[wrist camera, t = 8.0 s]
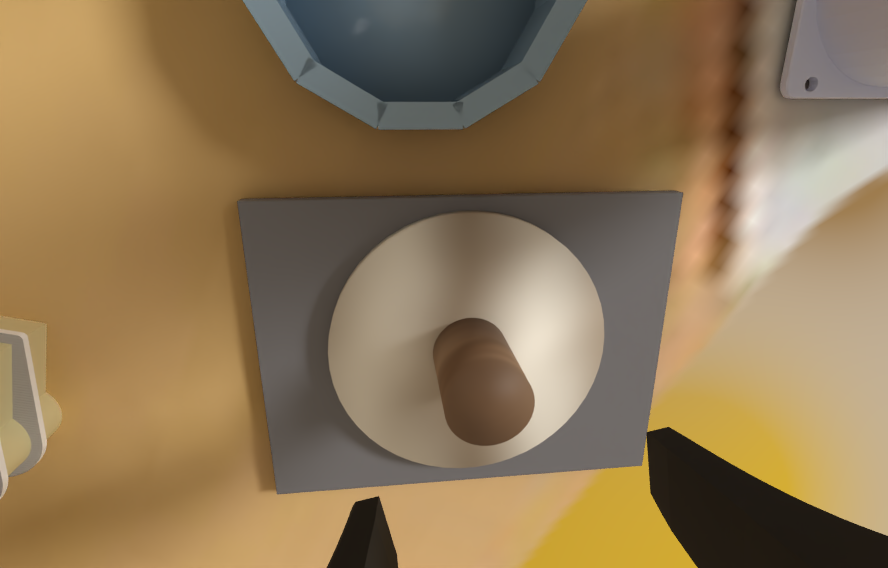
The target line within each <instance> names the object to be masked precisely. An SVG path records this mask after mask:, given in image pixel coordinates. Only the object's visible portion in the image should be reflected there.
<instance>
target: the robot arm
mask: <svg viewBox="0 0 888 568" xmlns="http://www.w3.org/2000/svg"><path fill="white" fill-rule="evenodd" d="M807 79H808V80H809V84H810V85H809V87H808V89H807V90H806V89H805V83H806V81H807ZM780 91H781V94H782V95H783V96H784V97H785V98H789V99H888V0H797V3H796V8H795V13H794V18H793V23H792V28H791V33H790V38H789V43H788V48H787V53H786V58H785V63H784V68H783V73H782V78H781V83H780ZM646 434H647V447H648V462H649V476H650V490H651V495H652V496H653V498H654V500H655V502H656V504H657V506H658V507H659V509H660V511H661V513H662V515H663V517H664V518H665V520H666V522H667V524H668V525H669V527H670V529H671V531H672V532H673V533H674V535H675V536H676V538H677V539H678V541H679V542H680V543H681V545H682V546H683V548H684V549H685V551H686V552H687V553H688V554H689V556H690V558H691V559H692V560H693V562H694V563H695V565H696V566H697V567H698V568H888V536H886V535H883V534H881V533H878V532H875V531H872V530H870V529H867V528H865V527H862V526H859V525H857V524H854V523H852V522H849V521H847V520H844V519H842V518H839V517H837V516H835V515H833V514H830V513H828V512H826V511H823V510H821V509H819V508H817V507H814V506H812V505H809V504H807V503H805V502H803V501H801V500H799V499H797V498H795V497H793V496H790V495H789V494H787V493H784V492H783V491H781V490H779V489H777V488H774V487H773V486H771V485H769V484H767V483H765V482H763V481H761V480H759V479H757V478H755V477H754V476H752V475H750V474H748V473H746V472H745V471H743V470H741V469H739V468H737V467H735V466H734V465H732V464H730V463H729V462H727V461H725V460H723V459H722V458H720V457H718V456H716V455H715V454H713V453H711V452H710V451H708V450H706V449H705V448H703V447H701V446H700V445H698V444H696V443H695V442H693V441H691V440H690V439H688V438H687V437H685V436H683V435H682V434H680V433H678V432H676V431H675V430H673V429H671V428H670V427H667V428H662V429H658V430H654V431H650V432H646ZM327 568H398V561H397V553H396V550H395V547H394V544H393V540H392V537H391V534H390V531H389V527H388V524H387V521H386V518H385V514H384V511H383V508H382V505H381V501H380V498H379V496H378V497H374V498H370V499H366V500H361V501H357V502H355V504H354V505H353V507H352V510H351V512H350V515H349V518H348V520H347V523H346V525H345V528H344V530H343V533H342V535H341V537H340V540H339V542H338V544H337V547H336V549H335V551H334V553H333V556H332V558H331V560H330V562H329V564H328V566H327Z"/></svg>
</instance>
